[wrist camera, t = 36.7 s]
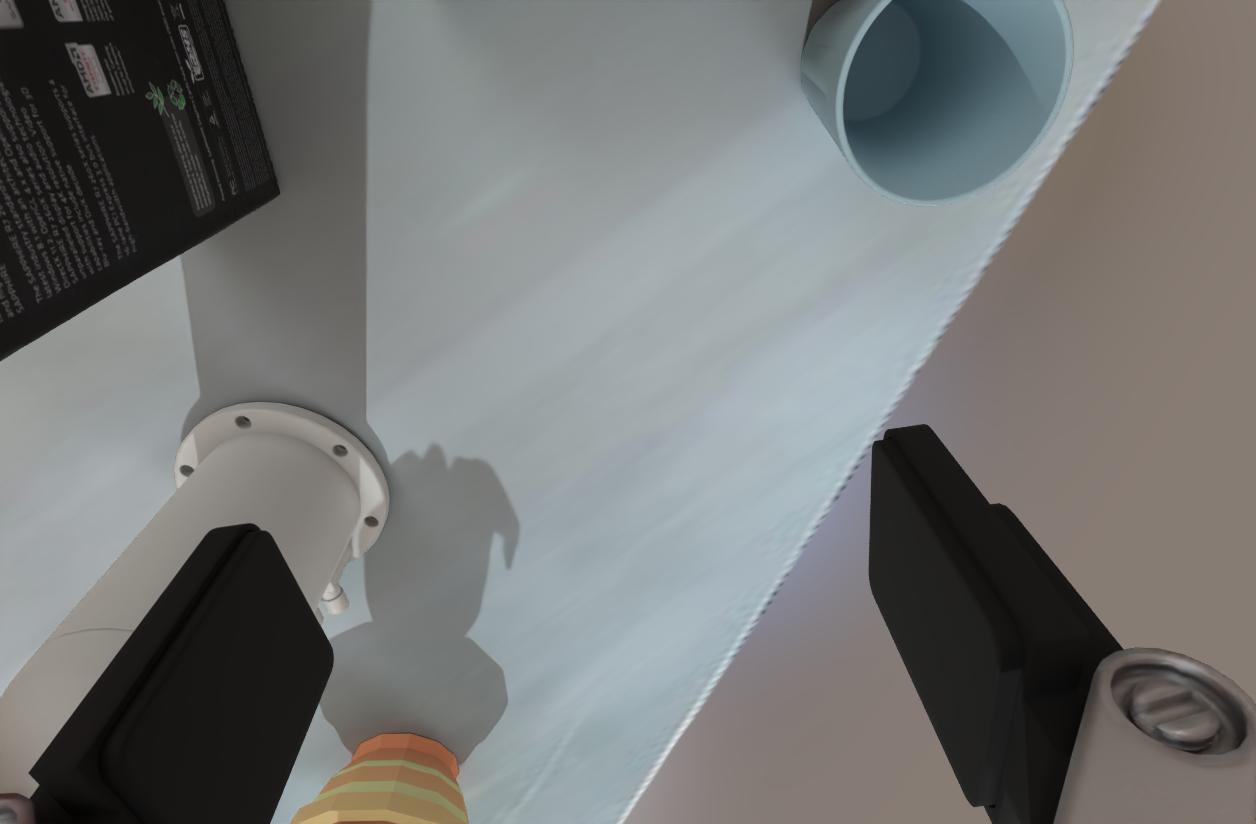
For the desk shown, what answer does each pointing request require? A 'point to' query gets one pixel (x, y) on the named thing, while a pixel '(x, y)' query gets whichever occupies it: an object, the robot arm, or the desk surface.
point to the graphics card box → (116, 148)
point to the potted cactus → (392, 786)
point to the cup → (938, 89)
